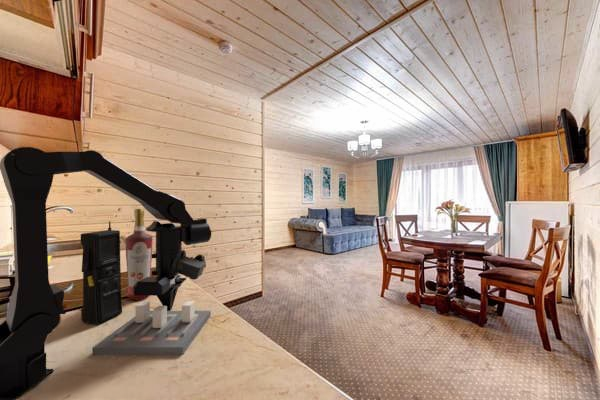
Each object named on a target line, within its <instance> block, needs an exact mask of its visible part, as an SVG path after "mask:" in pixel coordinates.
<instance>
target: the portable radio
mask: <svg viewBox="0 0 600 400" xmlns="http://www.w3.org/2000/svg"><path fill="white" fill-rule="evenodd" d="M111 222H112V221H111V220H110V221H108V228H107V229H106V230H99V231H91V232H84V233H81V234H80V245H82V262H81V273H82V290H83V291H82V308H83V309H82V308H81V309H82V310H81V309H80V310H81V311H80V312H81V315H80V316H81V319H80V320H81V322H83V324H91V325H100V324H102V323H104V322H106V321H108V320H110V319H112V318H115V317H116V316H119V315H121V314H122V313H123V304H122V302H123V301H122V280H121V279H122V278H121V276H122V275H121V271H122V270H121V232H120V230H118V229H117V230H113V229H112V227H111Z"/></svg>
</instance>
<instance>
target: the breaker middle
mask: <svg viewBox="0 0 600 400" xmlns="http://www.w3.org/2000/svg"><path fill="white" fill-rule="evenodd" d="M152 311H153V328H162V327H163V326H164V325H165V324H166V323H167V306H163V305H157V306H156V307H155V308H153V309H152Z"/></svg>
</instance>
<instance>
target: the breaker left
mask: <svg viewBox="0 0 600 400" xmlns="http://www.w3.org/2000/svg"><path fill="white" fill-rule="evenodd" d="M134 306H135V307H134V308H135V309H134V310H135V312H134V314H135V316H134V317H135V323H144V322H145V321H146V320H148V319H149V318H150V311H151V302H150V301H140V302H139V303H138V304H136V305H134Z"/></svg>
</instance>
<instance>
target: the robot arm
mask: <svg viewBox="0 0 600 400" xmlns="http://www.w3.org/2000/svg"><path fill="white" fill-rule="evenodd" d="M80 172H81V173H82V172H83V173H84V172H85V173H87V174H89V175H91V176H93V178H96V179H98V180H99V181H101V182H103V183H105V184H106V185H108V186H110V187H111V188H113V189H116V190H117V191H118V192H120V193H123V194H124V195H125V196H127V197H129V198H131V199H133V200H134V201H136V202H138V203H139V204H140V205H141V206H142V207H143V209H144V210H146V211H147V212H148V213H149V214H150V215H151V216H153V217H154V218H155V219H157V220H160V221H165V222H168V223H165V222H164V223H161V222H160V221H156V220H154V221H152V223H151V224H149V226H147V227H146V228H145V232H146V231H147V232H151V233H155V252H153V253H152V259H155V269H153V270H151V277H146V278H144V279H142V280H140V281H138V282H137V283H136V284H135V285H134V286H133V295H134V296H147V297H149V296H153V297H154V296H156V297H157V299H158V300H159V302H160V303H161V306H167V311H172V309H173V306H174V302H175V299H176V296H177V293H178V290H179V287H180V286H181V285H182V284H183V283H184V282H185V281H186V280H187V278H189V279H191V280H197V279H198V278H199V277H201V276H202V275H203V272H204V270H205V268H206V267H207V264H206V263H207V261H206V259H205V255H203V254H197V255H196V256H195V257H193V256H191V257H189V256H187V251H186V250H185V249H182V248H183V247H182V246H183V245H182V243H183V244H185V245H186V246H191V245H198V244H204V243H208V242H210V240H211V238H212V230H211V227H210V225H209V223H208V219H207V218H205V217H203V218H196V219H193V217H192V216H191V215H190V213H189V212H188V211H187V209H186V203H185V201H183V200H182V199H181V198H179V197H176V196H174V195H172V194H169V193H166V192H164V191H163V192H162V191H160V190H158V189H155V188H153V187H152V186H150V185H148V184H147V183H145V182H144V181H142V180H140V179H139V178H137V176H136V177H135V176H134V175H132V174H131V173H130V172H128V171H126V170H124V169H123V168H122V167H120V166H119V165H117V164H115V163H114V162H112V161H111V160H109V159H108V158H106V157H105V156H103V154H102V153H101V152H99V151H96V150H92V149H90V150H89V149H88V150H84V151H44V150H42V149H39V148H36V147H33V146H21V147H17V148H14V149H12V150H10V151H8V152H7V153H6V154H4V155H3V157H2V158H1V159H0V173H1V177H2V179H3V183H4V185H5V189H6V191H7V194H8V197H9V199H10V202H11V205H12V207H11V208H12V209H11V211H12V212H11V213H12V232H13V233H12V234H13V235H12V237H13V254H14V255H13V256H14V257H13V259H14V276H15V277H14V285H13V290H12V292H11V294H10V295H11V296H10V299H9V302H8V308H7V312H6V316H5V320H4V321H2V322H1V323H0V400H16V399H18V398H20V397H21V396H22V395H23V394H25V393H27V391H28V392H29V390H30V389H33V387H35V386H36V385H38V384H39V383H40V382H42V381H43V380H45V379H46V378H48V377H49V376H50V375H51V374H53V373H54V370H55V369H54V368H47V352H46V351H45V350H46V349H45V342H46V340H47V338H48V336H49V335H50V334H51V333H52V332H53V331H54V330H56V328H58V327H59V325H60V322H61V317H62V315H66V313H67V312H66V310H65V309H64V305H63V303H64V298H65V290H64V289H62V288H61V287H60V286H59V285H58V284H53V285H51V284H50V281H49V280H50V279H49V277H50V276H49V256H48V251H49V250H48V229H47V228H48V227H47V224H48V223H47V201H48V198H49V194H50V191H51V188H52V184H53V181H54V176H55V175H62V174H71V173H73V174H74V173H80ZM175 224H180V225H179V226H178V225H175ZM182 276H185V277H182Z"/></svg>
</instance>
